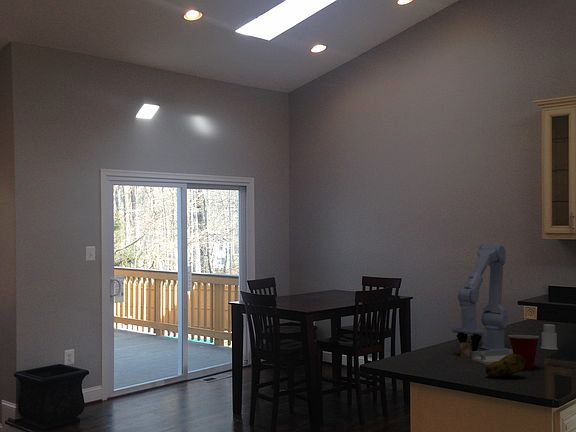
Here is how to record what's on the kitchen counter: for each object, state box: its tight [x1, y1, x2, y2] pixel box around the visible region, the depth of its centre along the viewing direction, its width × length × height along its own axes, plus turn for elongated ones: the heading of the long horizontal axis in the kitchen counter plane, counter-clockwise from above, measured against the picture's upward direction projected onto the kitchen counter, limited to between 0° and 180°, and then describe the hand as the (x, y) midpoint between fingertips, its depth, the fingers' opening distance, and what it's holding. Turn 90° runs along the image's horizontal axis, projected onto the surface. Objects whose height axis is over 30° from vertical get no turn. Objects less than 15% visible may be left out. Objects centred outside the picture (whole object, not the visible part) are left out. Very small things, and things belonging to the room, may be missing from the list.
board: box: [471, 348, 513, 366], centre depth 246 cm, size 11×18×4 cm, turn 102°
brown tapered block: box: [459, 340, 479, 359], centre depth 255 cm, size 4×8×6 cm, turn 137°
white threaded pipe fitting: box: [540, 323, 559, 350], centre depth 268 cm, size 8×7×10 cm
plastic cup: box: [507, 334, 541, 371], centre depth 232 cm, size 11×11×12 cm
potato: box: [485, 354, 526, 378], centre depth 218 cm, size 8×13×8 cm, turn 68°
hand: (469, 352), depth 255 cm, fingers closed on brown tapered block, 4 cm apart
